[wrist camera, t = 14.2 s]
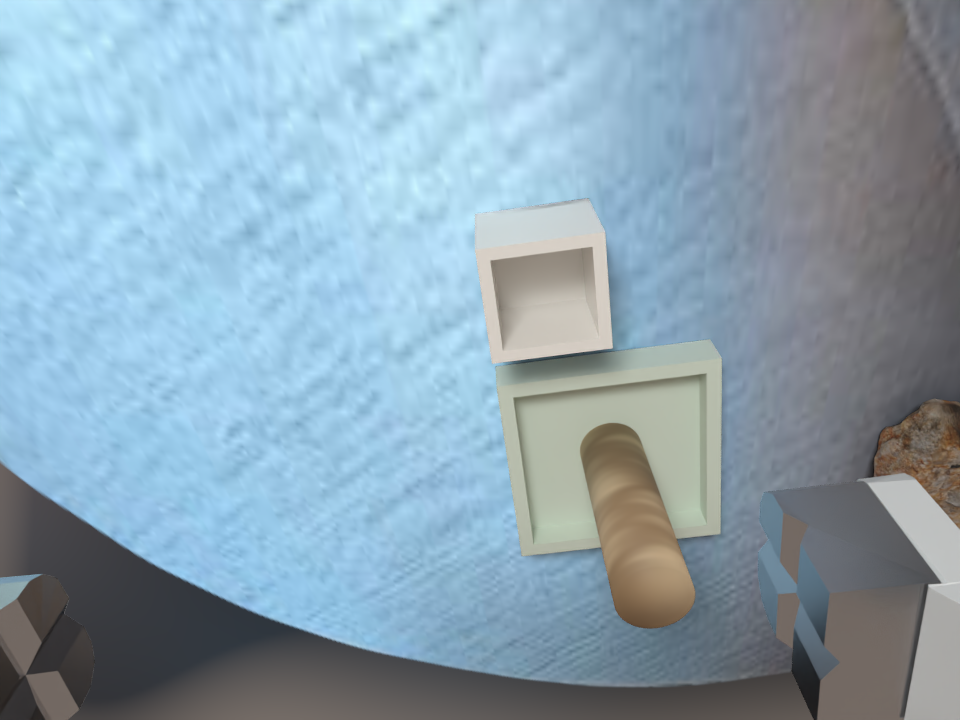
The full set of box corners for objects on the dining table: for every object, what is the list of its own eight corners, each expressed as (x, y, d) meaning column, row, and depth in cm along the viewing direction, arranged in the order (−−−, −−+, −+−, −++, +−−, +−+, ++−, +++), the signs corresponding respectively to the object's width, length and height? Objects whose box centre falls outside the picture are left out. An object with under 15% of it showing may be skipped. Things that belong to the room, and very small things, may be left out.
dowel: (639, 419, 44) (694, 562, 33) (642, 470, 45) (696, 623, 34) (577, 427, 44) (611, 572, 33) (582, 478, 45) (616, 632, 35)
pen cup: (588, 198, 38) (605, 232, 33) (596, 302, 41) (612, 348, 36) (474, 213, 39) (475, 249, 34) (489, 316, 41) (492, 363, 36)
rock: (878, 387, 44) (841, 541, 47) (966, 425, 39) (918, 596, 41) (993, 385, 46) (951, 531, 49) (1090, 420, 41) (1037, 582, 44)
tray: (709, 339, 42) (721, 358, 40) (709, 509, 48) (720, 533, 46) (495, 366, 43) (496, 386, 41) (519, 531, 48) (521, 556, 46)
